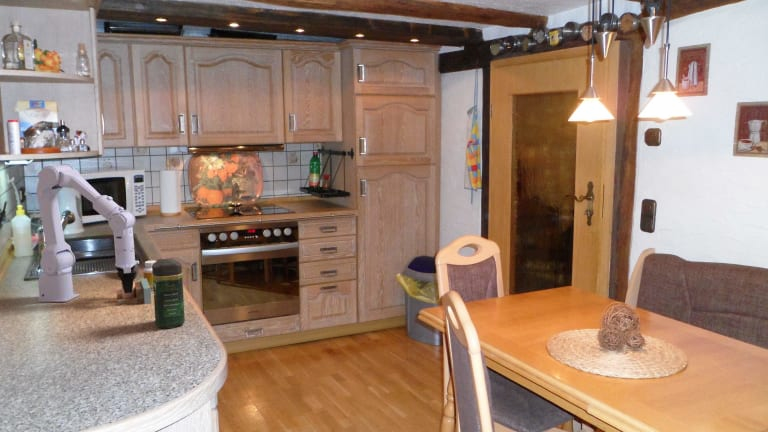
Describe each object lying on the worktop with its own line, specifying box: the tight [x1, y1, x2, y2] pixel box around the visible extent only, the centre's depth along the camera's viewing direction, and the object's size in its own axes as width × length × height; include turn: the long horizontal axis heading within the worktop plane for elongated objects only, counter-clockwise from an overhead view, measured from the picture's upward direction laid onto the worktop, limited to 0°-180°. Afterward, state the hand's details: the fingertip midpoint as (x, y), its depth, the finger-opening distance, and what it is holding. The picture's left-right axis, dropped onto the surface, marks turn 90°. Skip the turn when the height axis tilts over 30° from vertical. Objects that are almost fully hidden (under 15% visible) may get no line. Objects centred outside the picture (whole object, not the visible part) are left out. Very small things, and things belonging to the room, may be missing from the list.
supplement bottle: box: [142, 260, 157, 292], centre depth 211 cm, size 5×5×10 cm
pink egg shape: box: [120, 280, 136, 299], centre depth 197 cm, size 4×4×6 cm
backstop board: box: [139, 278, 152, 305], centre depth 200 cm, size 2×14×5 cm, turn 26°
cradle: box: [116, 281, 144, 306], centre depth 198 cm, size 8×10×4 cm
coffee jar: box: [152, 258, 186, 329], centre depth 173 cm, size 10×8×19 cm
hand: (127, 290), depth 197 cm, fingers open, 6 cm apart
